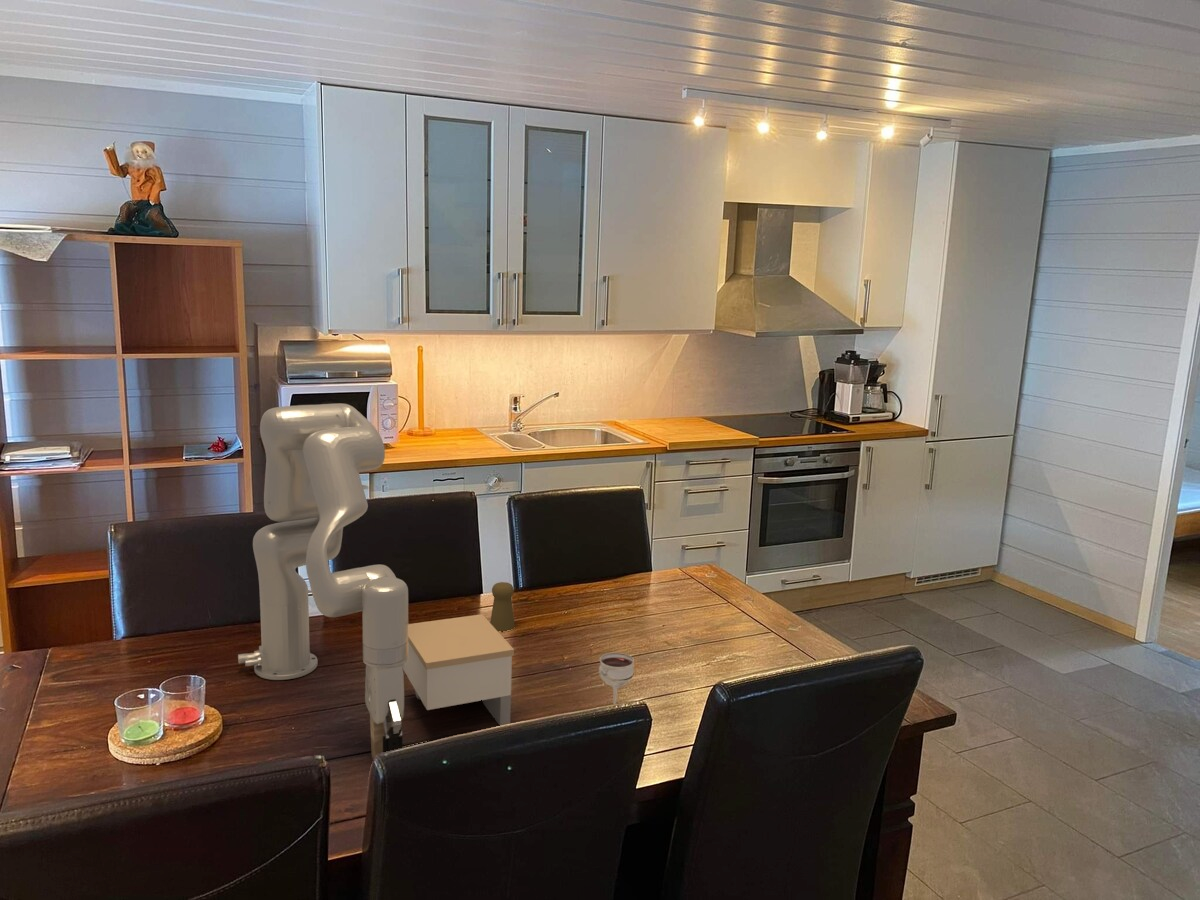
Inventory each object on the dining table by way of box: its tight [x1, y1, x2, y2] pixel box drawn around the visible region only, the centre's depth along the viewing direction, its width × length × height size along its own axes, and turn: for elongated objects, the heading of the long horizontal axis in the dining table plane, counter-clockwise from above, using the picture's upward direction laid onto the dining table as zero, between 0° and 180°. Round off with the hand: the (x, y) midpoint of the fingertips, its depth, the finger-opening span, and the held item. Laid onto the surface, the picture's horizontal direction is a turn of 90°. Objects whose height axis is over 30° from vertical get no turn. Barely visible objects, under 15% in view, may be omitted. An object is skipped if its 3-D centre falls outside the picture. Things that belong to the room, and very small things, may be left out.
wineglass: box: [598, 652, 635, 705], centre depth 168 cm, size 7×7×12 cm
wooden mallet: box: [369, 714, 427, 759], centre depth 155 cm, size 18×3×8 cm, turn 116°
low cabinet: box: [403, 613, 515, 726], centre depth 168 cm, size 17×19×15 cm
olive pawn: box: [489, 581, 516, 631], centre depth 210 cm, size 6×6×11 cm
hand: (386, 743), depth 152 cm, fingers open, 9 cm apart
